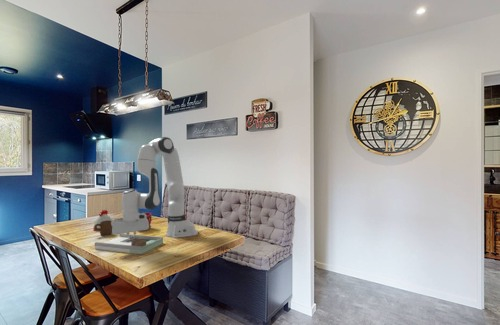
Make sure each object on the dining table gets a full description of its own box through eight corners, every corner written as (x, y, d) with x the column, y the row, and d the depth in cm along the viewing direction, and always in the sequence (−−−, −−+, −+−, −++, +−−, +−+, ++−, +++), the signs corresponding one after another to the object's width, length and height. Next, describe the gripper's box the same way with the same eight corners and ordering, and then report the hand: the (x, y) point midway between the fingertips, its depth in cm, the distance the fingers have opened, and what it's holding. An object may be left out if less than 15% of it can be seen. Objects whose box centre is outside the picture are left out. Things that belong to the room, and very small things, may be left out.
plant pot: (136, 227, 201) (136, 212, 201) (153, 226, 202) (153, 212, 202) (130, 231, 188) (130, 216, 188) (148, 231, 189) (148, 215, 189)
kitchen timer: (117, 227, 203) (117, 208, 203) (104, 231, 189) (103, 212, 189) (103, 226, 206) (103, 208, 206) (89, 230, 192) (88, 211, 192)
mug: (96, 238, 172) (96, 224, 172) (91, 236, 176) (91, 223, 177) (114, 233, 182) (114, 221, 182) (108, 232, 186) (108, 220, 187)
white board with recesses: (94, 248, 150) (94, 242, 150) (120, 239, 169) (120, 233, 169) (141, 254, 140) (141, 247, 140) (163, 243, 159) (162, 237, 159)
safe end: (129, 252, 143) (129, 246, 143) (152, 242, 162) (152, 236, 162) (141, 254, 140) (141, 248, 140) (163, 243, 159) (162, 237, 159)
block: (131, 247, 146) (131, 240, 146) (141, 244, 151) (141, 238, 151) (136, 249, 142) (136, 242, 142) (146, 246, 147) (146, 239, 147)
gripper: (111, 220, 141) (112, 244, 141) (149, 214, 152) (150, 237, 152) (110, 218, 146) (111, 241, 146) (147, 213, 157) (148, 234, 157)
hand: (131, 239), depth 149 cm, fingers closed
